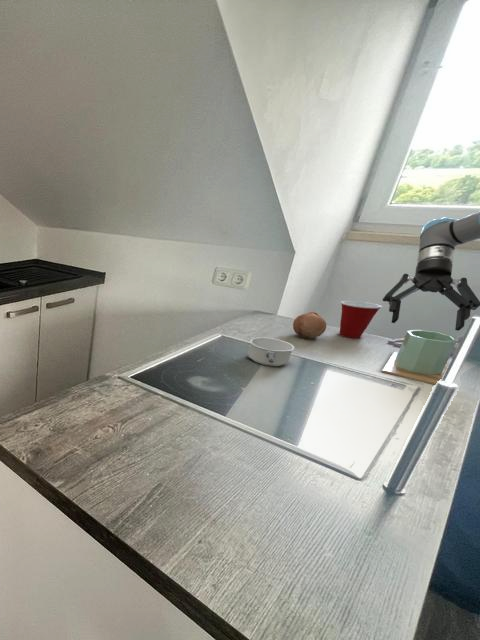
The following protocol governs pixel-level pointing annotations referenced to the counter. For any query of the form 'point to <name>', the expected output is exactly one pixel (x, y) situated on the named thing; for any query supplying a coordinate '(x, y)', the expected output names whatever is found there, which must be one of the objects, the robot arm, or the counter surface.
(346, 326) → the plastic cup
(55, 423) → the counter surface
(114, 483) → the counter surface
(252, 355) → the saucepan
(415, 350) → the tumbler
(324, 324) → the onion
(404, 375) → the wooden cutting board
